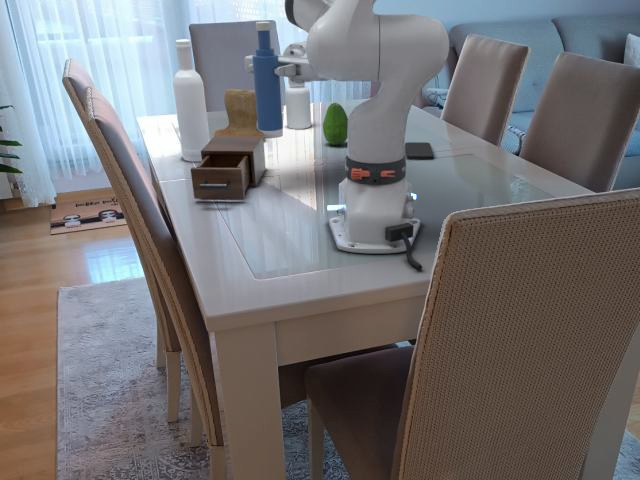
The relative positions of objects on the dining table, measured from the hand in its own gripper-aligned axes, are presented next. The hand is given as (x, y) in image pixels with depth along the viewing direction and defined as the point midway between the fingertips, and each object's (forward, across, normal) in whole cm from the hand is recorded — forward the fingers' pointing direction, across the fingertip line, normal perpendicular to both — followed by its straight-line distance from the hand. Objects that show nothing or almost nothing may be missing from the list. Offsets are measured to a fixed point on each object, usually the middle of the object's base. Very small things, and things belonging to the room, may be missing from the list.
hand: (263, 70), depth 141 cm
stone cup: (-33, -39, +27) cm, 57 cm away
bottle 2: (-1, 0, +12) cm, 13 cm away
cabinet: (-2, -14, +26) cm, 30 cm away
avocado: (-44, -10, +27) cm, 52 cm away
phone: (-49, +15, +27) cm, 57 cm away
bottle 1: (-11, -35, +27) cm, 45 cm away
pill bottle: (-57, -34, +27) cm, 72 cm away
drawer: (+10, -6, +26) cm, 28 cm away
